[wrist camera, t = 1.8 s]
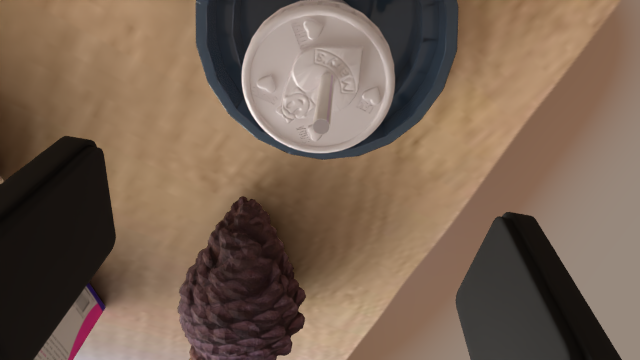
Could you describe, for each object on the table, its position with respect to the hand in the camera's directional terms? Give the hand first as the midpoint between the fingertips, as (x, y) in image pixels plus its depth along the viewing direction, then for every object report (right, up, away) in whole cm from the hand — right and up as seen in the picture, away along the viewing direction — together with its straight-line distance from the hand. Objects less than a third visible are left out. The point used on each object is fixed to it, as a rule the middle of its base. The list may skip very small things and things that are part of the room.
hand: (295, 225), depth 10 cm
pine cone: (-5, -6, +27) cm, 28 cm away
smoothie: (+1, +10, +15) cm, 18 cm away
